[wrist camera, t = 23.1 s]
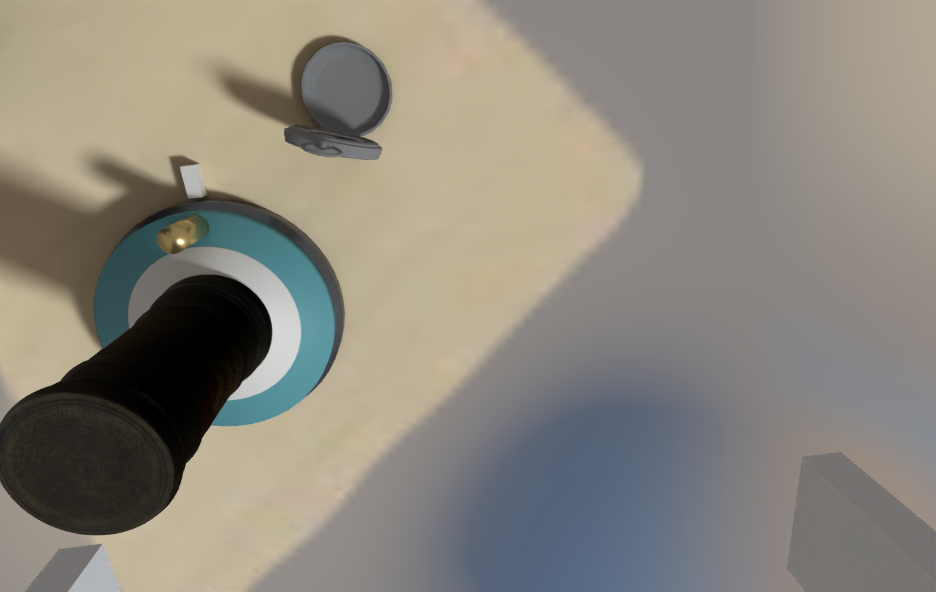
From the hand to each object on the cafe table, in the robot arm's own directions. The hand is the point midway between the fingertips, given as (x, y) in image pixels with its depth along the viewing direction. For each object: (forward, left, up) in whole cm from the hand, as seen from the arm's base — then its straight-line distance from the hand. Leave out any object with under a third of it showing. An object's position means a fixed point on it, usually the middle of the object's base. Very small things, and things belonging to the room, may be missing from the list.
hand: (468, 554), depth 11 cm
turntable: (+7, -18, -35) cm, 40 cm away
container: (+7, -18, -34) cm, 39 cm away
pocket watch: (-8, -6, -37) cm, 38 cm away
